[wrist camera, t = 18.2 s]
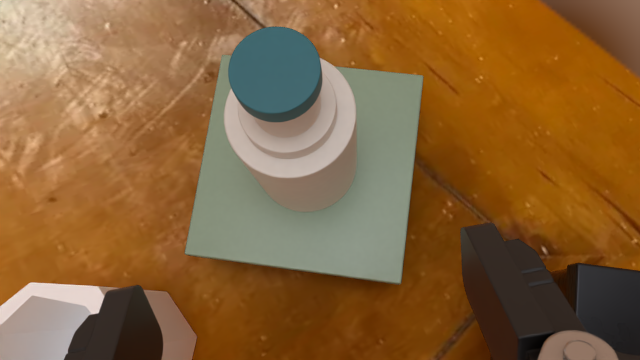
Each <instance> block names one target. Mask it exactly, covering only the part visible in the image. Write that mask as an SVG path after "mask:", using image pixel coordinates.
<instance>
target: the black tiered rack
mask: <svg viewBox="0 0 640 360" xmlns="http://www.w3.org/2000/svg"><path fill="white" fill-rule="evenodd" d="M549 273H550V274H551V276H552V277H553V279H554V283H556V284H557V285H558V287H559V289H560V290H561V292H562V293H563V295H564V296H565V298H566V300H567V301H568V303H569V304H570V306H571V307H572V309H573V311H574V312H575V314H576V315H577V317H578V319H579V320H580V322H581V323H582V325H583V326H584V328H585V329H586V331H587V332H588V333H590V334H593V335H595V336H597V337H599V338H601V339H602V340H604V341H605V342H606V343H608V344H609V345H610V346H611V347H612V349H613V350H615V351H618V352H621V353H625V354H631V355H639V356H640V271H637V270H629V269H622V268H614V267H607V266H599V265H591V264H584V263H575V264H570V265H568V266H567V269H564V270H558V271H553V272H549ZM491 360H494V359H493V357H492V355H491Z"/></svg>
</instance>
